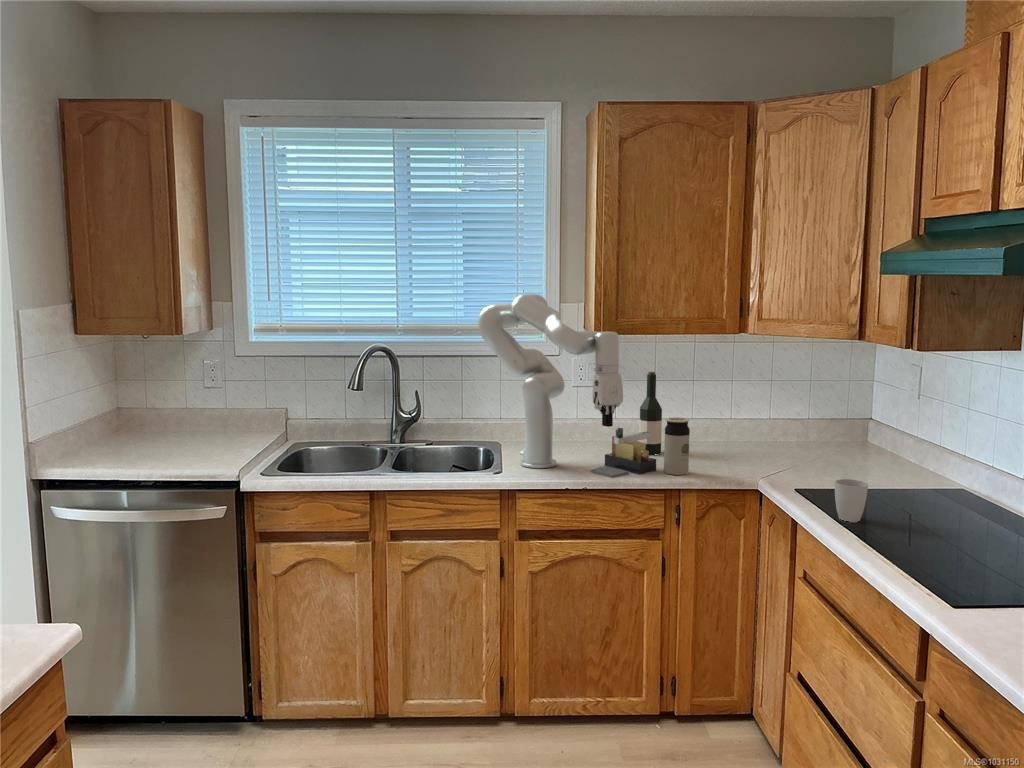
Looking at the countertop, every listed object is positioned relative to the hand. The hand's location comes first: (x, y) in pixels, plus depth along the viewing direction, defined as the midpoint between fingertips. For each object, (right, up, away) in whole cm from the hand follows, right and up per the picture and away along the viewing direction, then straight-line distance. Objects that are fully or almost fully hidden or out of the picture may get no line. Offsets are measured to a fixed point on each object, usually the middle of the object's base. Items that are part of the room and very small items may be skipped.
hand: (607, 425), depth 261 cm
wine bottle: (+20, -12, +34) cm, 41 cm away
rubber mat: (+1, -16, +4) cm, 16 cm away
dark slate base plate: (+9, -15, +10) cm, 20 cm away
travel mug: (+23, -16, +4) cm, 28 cm away
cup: (+58, -23, -49) cm, 79 cm away
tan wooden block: (+9, -11, +9) cm, 17 cm away
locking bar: (+10, -6, +9) cm, 14 cm away
